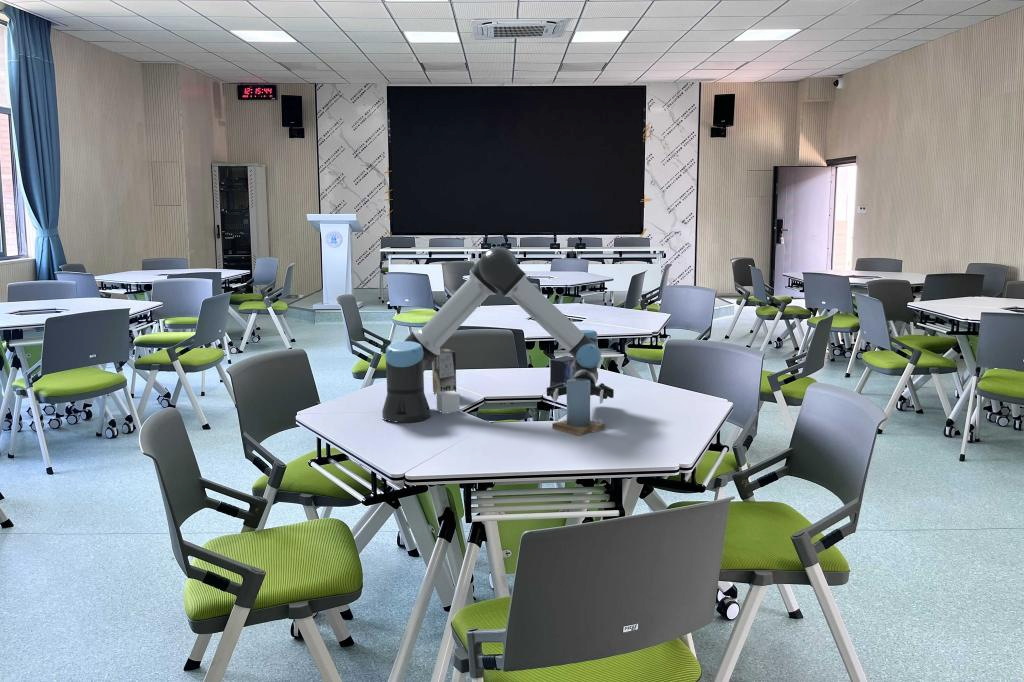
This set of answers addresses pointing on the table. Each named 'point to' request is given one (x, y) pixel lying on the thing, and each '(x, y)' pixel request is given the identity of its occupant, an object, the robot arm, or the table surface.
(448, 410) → the grey cube
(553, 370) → the small box
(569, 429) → the board
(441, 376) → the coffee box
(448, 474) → the table surface
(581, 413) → the grey cylinder
